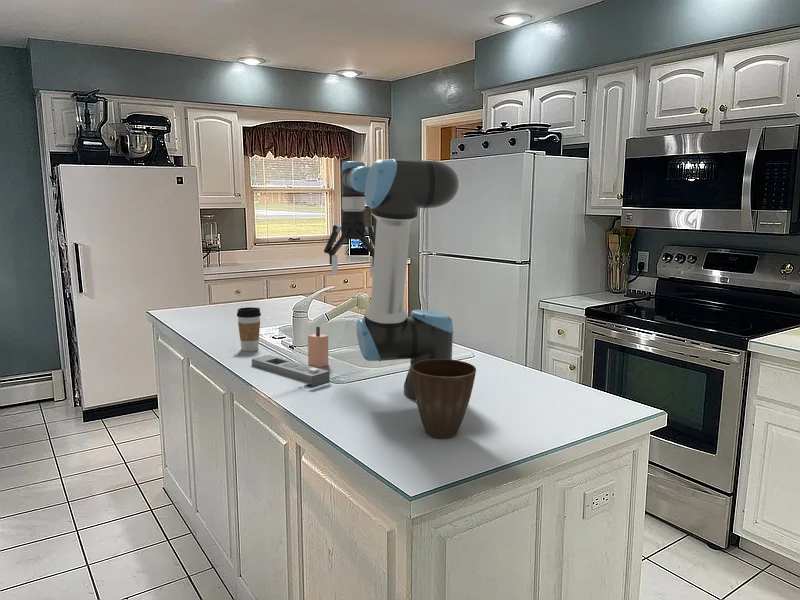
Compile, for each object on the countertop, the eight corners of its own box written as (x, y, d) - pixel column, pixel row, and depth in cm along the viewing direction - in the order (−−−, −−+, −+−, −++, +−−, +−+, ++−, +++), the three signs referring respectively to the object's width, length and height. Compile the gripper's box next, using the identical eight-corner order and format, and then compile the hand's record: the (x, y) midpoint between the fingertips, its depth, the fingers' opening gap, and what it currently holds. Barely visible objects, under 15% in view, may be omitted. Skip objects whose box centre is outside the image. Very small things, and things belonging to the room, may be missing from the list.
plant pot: (468, 421, 151) (471, 358, 149) (478, 445, 136) (481, 376, 134) (408, 421, 151) (409, 358, 148) (411, 445, 136) (413, 376, 133)
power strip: (329, 382, 181) (329, 368, 180) (311, 388, 176) (311, 373, 175) (269, 365, 199) (269, 352, 198) (251, 369, 193) (251, 356, 193)
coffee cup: (248, 353, 213) (246, 311, 211) (232, 349, 218) (231, 308, 216) (266, 348, 220) (265, 307, 217) (251, 345, 225) (250, 305, 222)
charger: (328, 369, 195) (328, 326, 193) (319, 371, 192) (318, 328, 190) (317, 366, 198) (317, 324, 196) (308, 369, 195) (307, 326, 193)
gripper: (393, 211, 197) (392, 276, 200) (324, 209, 205) (324, 272, 208) (385, 211, 190) (384, 279, 193) (313, 210, 198) (314, 275, 202)
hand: (353, 275), depth 201 cm, fingers open, 13 cm apart
